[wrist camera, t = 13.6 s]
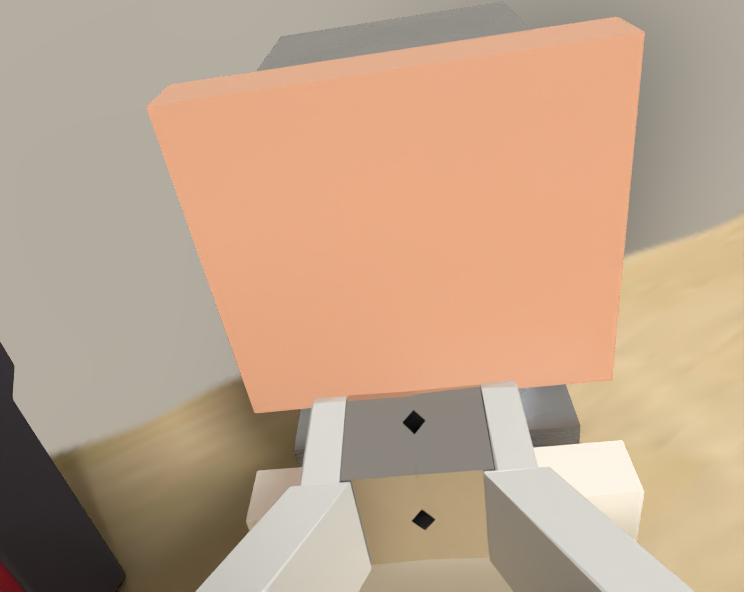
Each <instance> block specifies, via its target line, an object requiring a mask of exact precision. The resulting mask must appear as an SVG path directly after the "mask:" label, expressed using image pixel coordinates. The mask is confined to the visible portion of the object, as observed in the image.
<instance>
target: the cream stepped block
mask: <svg viewBox="0 0 744 592" xmlns="http://www.w3.org/2000/svg"><path fill="white" fill-rule="evenodd" d="M534 452H535V456H536V460H537V464H538V467H550V468H551V469H553V470H554V471H555V472H556V473H557V474H558V475H559V476H561V477H562V478H563V479H564V480H565V481H566V482H568V483H569V484H570V485H571V486H572V487H573V488H575V489H576V490H577V491H578V492H579V493H580V494H582V495H583V496H584V497H585V498H586V499H587V500H589V501H590V502H591V503H592V504H593V505H594V506H596V507H597V508H598V509H599V510H600V511H601V512H603V513H604V514H605V515H606V516H607V517H608V518H610V519H611V520H612V521H613V522H614V523H615V524H617V525H618V526H619V527H620V528H621V529H622V530H624V531H625V532H626V533H627V534H628V535H629V536H631V537H632V538H633V539H634V540H635V541H636V542H637V537H638V530H639V524H640V517H641V511H642V504H643V498H644V490H643V488H642V485H641V483H640V481H639V478H638V476H637V473H636V471H635V469H634V466H633V464H632V462H631V459H630V457H629V455H628V452H627V450H626V447H625V445H624V443H623V440H618V441H606V442H595V443H583V444H571V445H559V446H547V447H535V448H534ZM301 471H302V467H296V468H284V469H272V470H260V471H257V474H256V478H255V483H254V487H253V492H252V496H251V501H250V505H249V510H248V514H247V518H246V524H247V526H248V529H249V531H250V530H251V529H252V528H253V527H254V525H255V524H256V523H257V522H258V521H259V520H260V519H261V518H262V517H263V515H264V514H265V513H266V512H267V511H268V510H269V509H270V508H271V506H272V505H273V504H274V503H275V502H276V501H277V500H278V499H279V498H280V496H281V495H282V494H283V493H284V492H285V491H286V490H287V489H288V487H291V486H299V484H300V478H301ZM371 568H372V569H371V571H370V573H369V574H368V576H367V578H366V580H365V581H364V583H363V585H362V586H361V588H360V590H359V592H514V591H513V590H512V589H511V588H510V586H509V585H508V584H507V582H506V581H505V580H504V578H503V577H502V576H501V574H500V573H499V572H498V571H497V569H496V568H495V567H494V565H493V564H492V563H491V561H490V558H464V559H435V560H420V561H409V562H398V563H387V564H376V565H371Z"/></svg>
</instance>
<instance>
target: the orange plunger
mask: <svg viewBox="0 0 744 592" xmlns="http://www.w3.org/2000/svg"><path fill="white" fill-rule="evenodd" d="M644 35H645V32H644V31H642V30H640V29H638V28H636V27H635V26H633V25H631V24H629V23H628V22H626V21H624V20H622V19H621V18H619V17H612V18H605V19H599V20H592V21H585V22H579V23H572V24H566V25H559V26H552V27H546V28H540V29H533V30H526V31H519V32H513V33H506V34H500V35H493V36H487V37H480V38H473V39H467V40H460V41H454V42H447V43H440V44H434V45H427V46H421V47H414V48H407V49H401V50H394V51H388V52H381V53H375V54H368V55H361V56H355V57H348V58H342V59H335V60H328V61H322V62H315V63H309V64H302V65H295V66H289V67H282V68H276V69H269V70H262V71H256V72H249V73H243V74H236V75H230V76H223V77H217V78H210V79H203V80H197V81H191V82H183V83H177V84H170V85H169V86H168V87H167V88H165V89H164V91H162V92H161V93H160V94H159V95H158V96H157V97H156V98H154V99H153V101H151V102H150V103H149V104H148V105H147V106H146V108H147V111H148V114H149V116H150V119H151V122H152V125H153V128H154V131H155V133H156V136H157V139H158V142H159V145H160V148H161V150H162V153H163V156H164V159H165V162H166V164H167V167H168V170H169V173H170V175H171V179H172V181H173V184H174V187H175V190H176V193H177V195H178V198H179V201H180V204H181V207H182V210H183V212H184V215H185V218H186V221H187V224H188V227H189V229H190V232H191V235H192V238H193V240H194V244H195V246H196V249H197V252H198V255H199V258H200V260H201V263H202V266H203V269H204V271H205V275H206V277H207V280H208V283H209V286H210V289H211V292H212V294H213V297H214V300H215V303H216V306H217V309H218V311H219V314H220V317H221V320H222V323H223V325H224V328H225V331H226V334H227V336H228V340H229V342H230V345H231V348H232V351H233V354H234V357H235V359H236V362H237V365H238V368H239V371H240V374H241V376H242V379H243V382H244V385H245V388H246V390H247V393H248V396H249V399H250V402H251V405H252V407H253V410H254V413H264V412H275V411H285V410H296V409H307V408H311V406H312V404H313V402H314V400H315V399H316V398H329V397H346V396H349V395H363V394H378V393H393V392H408V391H417V390H427V389H437V388H447V387H458V386H468V385H479V386H480V384H484V383H493V382H502V381H512V380H513V381H514V382H515V383H516V384H517V386H518V389H521V388H531V387H542V386H553V385H563V384H574V383H585V382H595V381H606V380H612V376H613V366H614V355H615V344H616V334H617V323H618V312H619V301H620V291H621V280H622V269H623V259H624V248H625V237H626V227H627V215H628V205H629V195H630V183H631V173H632V163H633V152H634V141H635V130H636V120H637V109H638V99H639V87H640V77H641V67H642V66H641V65H642V55H643V45H644Z"/></svg>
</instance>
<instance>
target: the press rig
mask: <svg viewBox="0 0 744 592" xmlns="http://www.w3.org/2000/svg"><path fill="white" fill-rule="evenodd" d="M526 30H532V29H531V28H530V27H529V26H528V25H527V24H526V23H525V22H524V21H523V20H522V19H521V18H520V17H519V16H518V15H517V14H516V13H515V12H514V11H513V10H512V9H511V8H510V7H509V6H508V5H507V4H506V3H505V2H498V3H492V4H486V5H479V6H473V7H467V8H460V9H454V10H448V11H441V12H435V13H428V14H422V15H416V16H409V17H403V18H396V19H391V20H384V21H378V22H371V23H365V24H358V25H352V26H345V27H340V28H333V29H326V30H320V31H314V32H307V33H302V34H295V35H288V36H282V37H280V39H279V40H278V42H277V43H276V44H275V46H274V47H273V49H272V50H271V51H270V53H269V54H268V56H267V57H266V58H265V60H264V61H263V62H262V64H261V65H260V67H259V68H258V69H257V71H262V70H269V69H276V68H282V67H289V66H295V65H302V64H309V63H315V62H322V61H328V60H335V59H342V58H348V57H355V56H361V55H368V54H375V53H381V52H388V51H394V50H401V49H407V48H414V47H421V46H427V45H434V44H440V43H447V42H454V41H460V40H467V39H473V38H480V37H487V36H493V35H500V34H506V33H513V32H519V31H526ZM518 390H519V394H520V398H521V402H522V406H523V410H524V414H525V417H526V421H527V425H528V429H529V433H530V437H531V441H532V445H533V448H535V447H547V446H559V445H571V444H579V439H580V424H579V421H578V418H577V415H576V412H575V410H574V407H573V404H572V401H571V398H570V396H569V393H568V390H567V387H566V384H563V385H553V386H542V387H531V388H521V389H518ZM310 413H311V408H307V409H301V410H300V416H299V422H298V428H297V434H296V440H295V445H294V453H295V456H296V460H297V463H298V466H299V467H302V465H303V458H304V452H305V445H306V439H307V432H308V426H309V419H310Z"/></svg>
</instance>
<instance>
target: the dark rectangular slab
mask: <svg viewBox="0 0 744 592" xmlns="http://www.w3.org/2000/svg"><path fill="white" fill-rule="evenodd" d="M13 380H14V364H13V362H12V361H11V359H10V357H9V356H8V354H7V352H6V351H5V349H4V347H3V346H2V344H1V343H0V592H114V591H115V590H116V589H117V588H118V587H119V585H120V584H121V583H122V582H123V580H124V579H125V577H126V575H125V572H124V571H123V569H122V567H121V566H120V564H119V563H118V561H117V560H116V558H115V557H114V555H113V554H112V552H111V550H110V549H109V547H108V546H107V544H106V543H105V541H104V540H103V538H102V537H101V535H100V534H99V532H98V530H97V529H96V527H95V526H94V524H93V523H92V521H91V520H90V518H89V517H88V515H87V513H86V512H85V510H84V509H83V507H82V506H81V504H80V503H79V501H78V500H77V498H76V497H75V495H74V493H73V492H72V490H71V489H70V487H69V486H68V484H67V483H66V481H65V480H64V478H63V476H62V475H61V473H60V472H59V470H58V469H57V467H56V466H55V464H54V463H53V461H52V460H51V458H50V456H49V455H48V453H47V452H46V450H45V449H44V447H43V446H42V444H41V443H40V441H39V440H38V438H37V436H36V435H35V433H34V432H33V430H32V429H31V427H30V426H29V424H28V423H27V421H26V419H25V418H24V416H23V415H22V413H21V412H20V410H19V408H18V407H17V405H16V404H15V402H14V401H13V398H12V397H13V395H12V394H13Z"/></svg>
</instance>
